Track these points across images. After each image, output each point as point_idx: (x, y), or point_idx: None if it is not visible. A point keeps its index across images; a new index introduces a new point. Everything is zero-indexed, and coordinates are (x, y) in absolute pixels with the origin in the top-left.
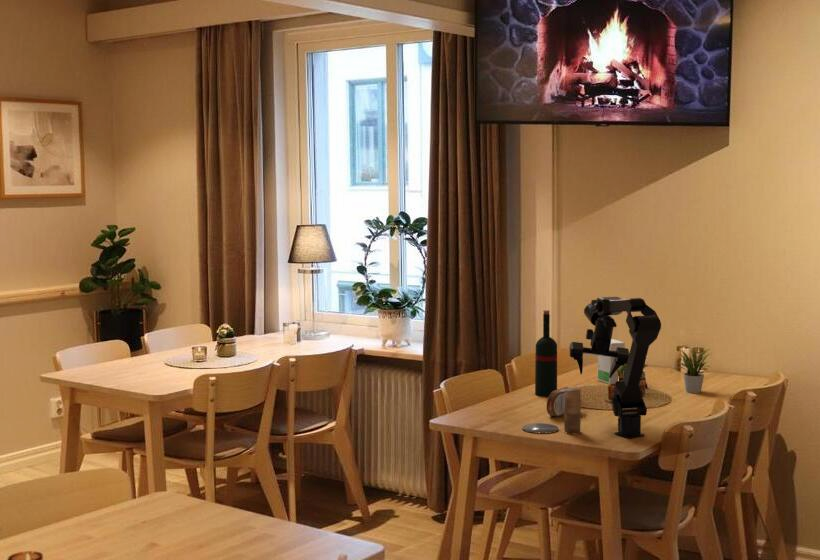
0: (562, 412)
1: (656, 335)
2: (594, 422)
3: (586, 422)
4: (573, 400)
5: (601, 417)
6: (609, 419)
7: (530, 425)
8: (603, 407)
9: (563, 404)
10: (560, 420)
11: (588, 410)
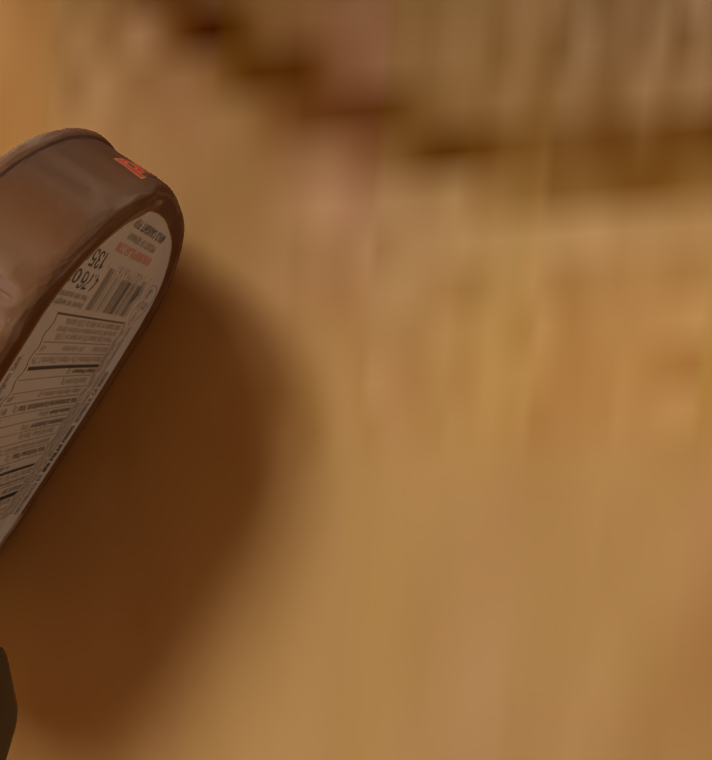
0: (48, 457)
1: None
2: (368, 742)
3: (288, 746)
4: None
5: (455, 523)
6: (530, 606)
7: None
8: (511, 63)
9: (12, 464)
10: (34, 676)
11: (341, 216)
